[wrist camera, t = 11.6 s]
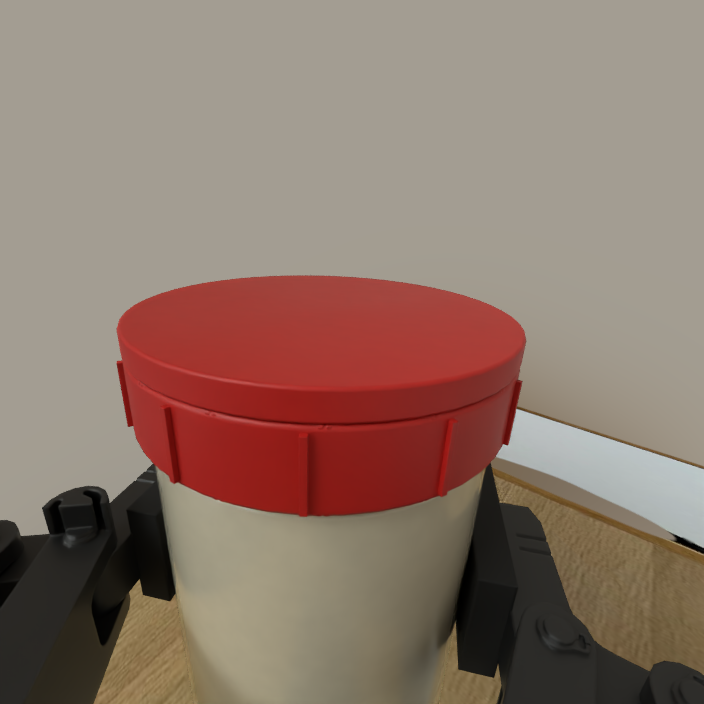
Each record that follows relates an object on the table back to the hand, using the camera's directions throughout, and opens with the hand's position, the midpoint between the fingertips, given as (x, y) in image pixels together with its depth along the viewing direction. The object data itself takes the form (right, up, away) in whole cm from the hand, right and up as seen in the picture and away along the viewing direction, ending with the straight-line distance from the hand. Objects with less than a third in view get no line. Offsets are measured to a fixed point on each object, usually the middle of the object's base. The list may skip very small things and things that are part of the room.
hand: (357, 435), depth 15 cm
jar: (-1, -7, -2) cm, 8 cm away
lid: (-1, +4, -7) cm, 7 cm away
